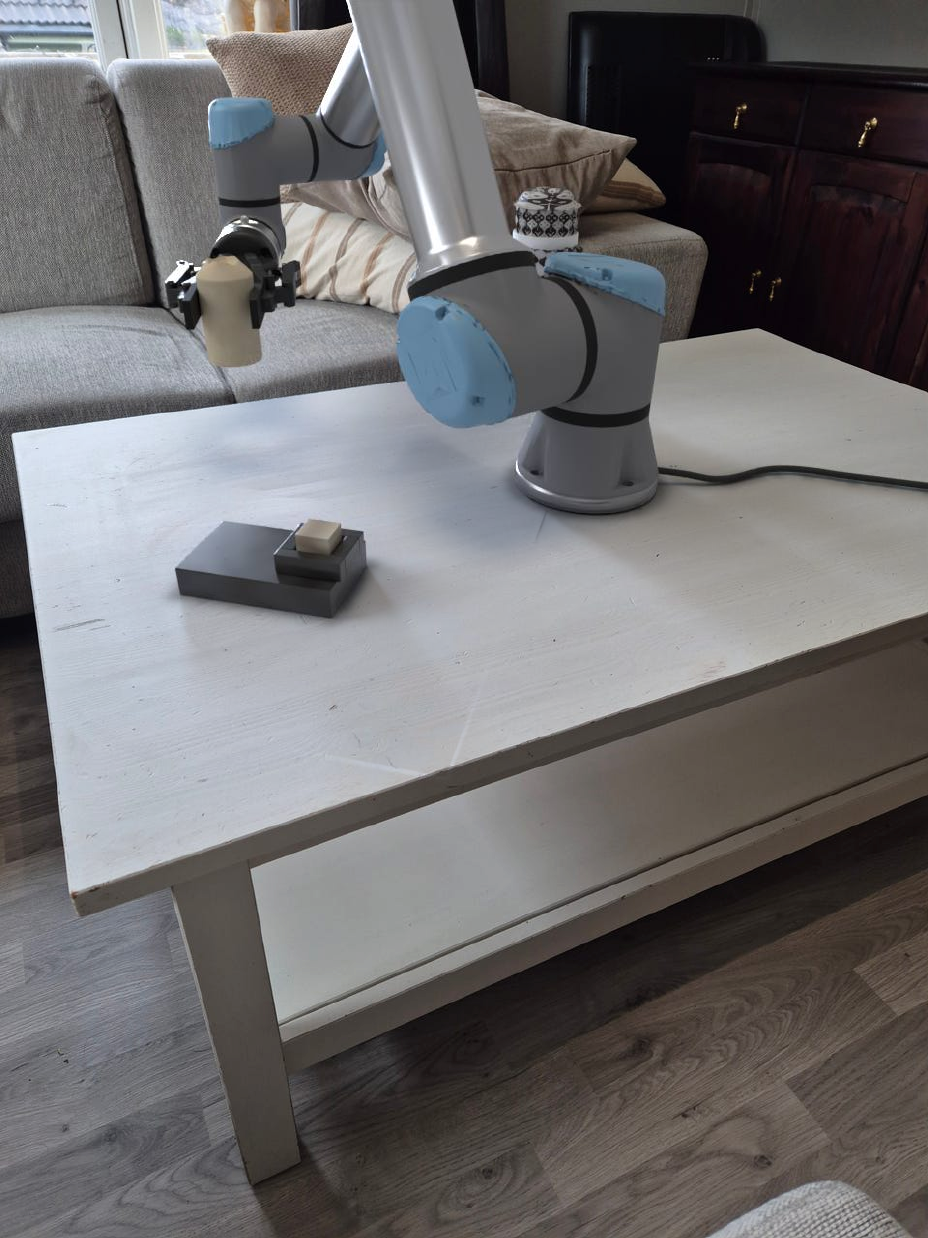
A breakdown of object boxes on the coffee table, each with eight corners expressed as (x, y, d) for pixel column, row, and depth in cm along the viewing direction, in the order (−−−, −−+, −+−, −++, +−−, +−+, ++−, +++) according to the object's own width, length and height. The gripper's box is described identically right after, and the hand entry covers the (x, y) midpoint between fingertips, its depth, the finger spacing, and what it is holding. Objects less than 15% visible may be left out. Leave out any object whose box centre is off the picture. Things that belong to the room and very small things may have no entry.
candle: (249, 370, 90) (237, 266, 84) (199, 365, 91) (183, 262, 85) (270, 353, 94) (259, 253, 89) (222, 349, 95) (208, 250, 90)
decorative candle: (533, 413, 113) (547, 199, 99) (487, 392, 119) (493, 187, 105) (584, 398, 118) (604, 191, 104) (537, 378, 124) (549, 181, 110)
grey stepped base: (371, 566, 81) (369, 522, 79) (336, 619, 74) (333, 573, 72) (226, 545, 84) (220, 502, 82) (179, 594, 77) (170, 549, 74)
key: (342, 540, 77) (341, 522, 76) (330, 557, 74) (328, 539, 73) (310, 536, 77) (308, 518, 76) (296, 552, 75) (294, 534, 74)
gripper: (159, 225, 101) (113, 274, 82) (323, 224, 103) (316, 273, 84) (170, 293, 105) (129, 355, 86) (328, 291, 107) (322, 352, 88)
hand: (221, 314), depth 85 cm, fingers closed on candle, 5 cm apart
